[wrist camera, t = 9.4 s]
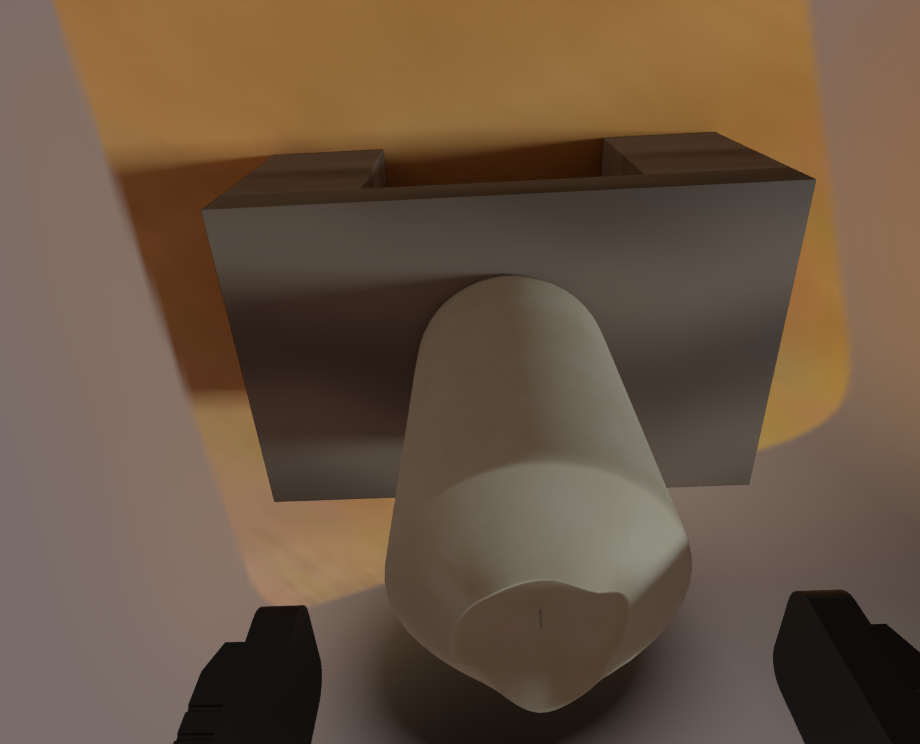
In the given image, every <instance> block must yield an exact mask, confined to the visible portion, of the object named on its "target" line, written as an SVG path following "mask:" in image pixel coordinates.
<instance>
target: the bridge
mask: <svg viewBox="0 0 920 744" xmlns="http://www.w3.org/2000/svg"><path fill="white" fill-rule="evenodd" d="M815 183H816V179H814V178H812V177H810V176H808V175H806V174H804V173H802V172H799V171H797V170H795V169H793V168H791V167H789V166H787V165H784V164H782V163H780V162H778V161H776V160H774V159H772V158H769V157H767V156H765V155H763V154H761V153H759V152H757V151H754V150H752V149H750V148H748V147H746V146H744V145H742V144H740V143H737V142H735V141H733V140H731V139H729V138H727V137H725V136H722V135H720V134H718V133H716V132H708V133H689V134H670V135H650V136H631V137H612V138H603V154H602V171H601V177H584V178H564V179H544V180H525V181H505V182H485V183H465V184H445V185H425V186H405V187H387V182H386V173H385V163H384V154H383V149H381V150H362V151H343V152H323V153H304V154H285V155H274V156H273V157H271V158H270V159H269V160H267V161H266V162H264V163H263V164H262V165H260V166H259V167H258V168H256V169H255V170H254V171H252V172H251V173H250V174H248V175H247V176H246V177H244V178H243V179H242V180H240V181H239V182H238V183H236V184H235V185H234V186H232V187H231V188H230V189H228V190H227V191H226V192H224V193H223V194H222V195H220V196H219V197H218V198H216V199H215V200H214V201H212V202H211V203H210V204H208V205H207V206H206V207H204V208H203V209H202V210H201V212H202V216H203V220H204V224H205V228H206V232H207V236H208V240H209V244H210V248H211V251H212V255H213V259H214V263H215V267H216V271H217V275H218V279H219V283H220V287H221V291H222V295H223V299H224V303H225V307H226V311H227V315H228V319H229V323H230V327H231V331H232V335H233V339H234V343H235V347H236V351H237V355H238V359H239V363H240V367H241V371H242V375H243V379H244V383H245V387H246V391H247V395H248V399H249V403H250V407H251V411H252V415H253V419H254V423H255V427H256V431H257V435H258V439H259V443H260V447H261V451H262V455H263V459H264V463H265V467H266V471H267V475H268V479H269V483H270V487H271V491H272V495H273V499H274V502H286V501H314V500H341V499H368V498H395V497H396V491H397V484H398V478H399V471H400V465H401V458H402V452H403V445H404V439H405V432H406V426H407V419H408V413H409V406H410V400H411V393H412V387H413V380H414V374H415V367H416V362H417V357H418V352H419V347H420V343H421V340H422V337H423V334H424V332H425V330H426V328H427V326H428V324H429V322H430V321H431V319H432V317H433V316H434V315H435V313H436V312H437V311H438V309H439V308H440V307H441V306H442V305H443V304H444V303H445V302H446V301H447V300H448V299H449V298H451V297H452V296H453V295H454V294H456V293H457V292H459V291H461V290H462V289H464V288H466V287H467V286H470V285H472V284H474V283H476V282H479V281H482V280H486V279H489V278H494V277H500V276H513V275H517V276H529V277H534V278H538V279H542V280H545V281H548V282H551V283H553V284H555V285H557V286H559V287H561V288H563V289H565V290H566V291H568V292H569V293H571V294H572V295H573V296H574V297H575V298H577V299H578V300H579V301H580V302H581V303H582V304H583V305H584V306H585V307H586V308H587V310H588V311H589V312H590V313H591V315H592V316H593V318H594V319H595V321H596V323H597V324H598V326H599V328H600V330H601V333H602V335H603V337H604V339H605V342H606V344H607V346H608V349H609V351H610V354H611V356H612V358H613V361H614V363H615V365H616V368H617V370H618V373H619V375H620V377H621V380H622V382H623V385H624V387H625V389H626V392H627V394H628V397H629V399H630V401H631V404H632V406H633V409H634V411H635V413H636V416H637V418H638V421H639V423H640V425H641V428H642V430H643V433H644V435H645V437H646V440H647V442H648V445H649V447H650V449H651V452H652V454H653V457H654V459H655V461H656V464H657V466H658V468H659V471H660V473H661V476H662V478H663V480H664V483H665V485H666V488H668V487H694V486H695V487H696V486H724V485H749V483H750V478H751V474H752V469H753V464H754V460H755V456H756V451H757V446H758V442H759V437H760V433H761V428H762V424H763V419H764V415H765V410H766V406H767V401H768V396H769V392H770V387H771V383H772V378H773V374H774V369H775V365H776V360H777V356H778V351H779V347H780V342H781V337H782V333H783V328H784V324H785V319H786V315H787V310H788V306H789V301H790V297H791V292H792V287H793V283H794V278H795V274H796V269H797V265H798V260H799V256H800V251H801V247H802V242H803V237H804V233H805V228H806V224H807V219H808V215H809V210H810V206H811V201H812V197H813V192H814V188H815Z"/></svg>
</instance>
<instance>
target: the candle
mask: <svg viewBox="0 0 920 744" xmlns="http://www.w3.org/2000/svg"><path fill="white" fill-rule="evenodd" d="M691 572H692V556H691V551H690V546H689V542H688V539H687V536H686V534H685V531H684V529H683V527H682V524H681V521H680V519H679V517H678V514H677V512H676V509H675V507H674V504H673V502H672V500H671V497H670V495H669V492H668V490H667V488H666V485H665V483H664V480H663V478H662V476H661V473H660V471H659V468H658V466H657V464H656V461H655V459H654V457H653V454H652V452H651V449H650V447H649V445H648V442H647V440H646V437H645V435H644V433H643V430H642V428H641V425H640V423H639V421H638V418H637V416H636V413H635V411H634V409H633V406H632V404H631V401H630V399H629V397H628V394H627V392H626V389H625V387H624V385H623V382H622V380H621V377H620V375H619V373H618V370H617V368H616V365H615V363H614V361H613V358H612V356H611V354H610V351H609V349H608V346H607V344H606V342H605V339H604V337H603V335H602V333H601V330H600V328H599V326H598V324H597V323H596V321H595V319H594V318H593V316H592V315H591V313H590V312H589V311H588V310H587V308H586V307H585V306H584V305H583V304H582V303H581V302H580V301H579V300H578V299H577V298H575V297H574V296H573V295H572V294H571V293H569V292H568V291H566V290H565V289H563V288H561V287H559V286H557V285H555V284H553V283H551V282H548V281H545V280H542V279H538V278H534V277H529V276H517V275H513V276H500V277H494V278H489V279H486V280H482V281H479V282H476V283H474V284H472V285H470V286H467V287H466V288H464V289H462V290H461V291H459V292H457V293H456V294H454V295H453V296H452V297H451V298H449V299H448V300H447V301H446V302H445V303H444V304H443V305H442V306H441V307H440V308H439V309H438V311H437V312H436V313H435V315H434V316H433V317H432V319H431V321H430V322H429V324H428V326H427V328H426V330H425V332H424V334H423V337H422V340H421V343H420V347H419V352H418V357H417V362H416V367H415V374H414V380H413V387H412V393H411V400H410V406H409V413H408V419H407V426H406V432H405V439H404V445H403V452H402V458H401V465H400V471H399V478H398V484H397V491H396V497H395V504H394V510H393V517H392V523H391V530H390V536H389V543H388V549H387V556H386V563H385V584H386V589H387V594H388V597H389V601H390V603H391V606H392V608H393V610H394V612H395V614H396V615H397V617H398V619H399V621H400V622H401V623H402V624H403V626H404V627H405V628H406V630H407V631H408V632H409V633H410V634H411V635H412V636H413V637H414V638H415V639H416V640H417V641H418V642H419V643H420V644H422V645H423V646H424V647H425V648H427V649H428V650H429V651H430V652H432V653H433V654H434V655H435V656H437V657H438V658H440V659H441V660H443V661H444V662H446V663H447V664H449V665H451V666H452V667H454V668H456V669H457V670H459V671H461V672H463V673H465V674H467V675H469V676H471V677H473V678H475V679H477V680H479V681H481V682H482V683H484V684H486V685H488V686H490V687H492V688H493V689H495V690H497V691H498V692H499V693H501V694H502V695H504V696H505V697H506V698H507V699H509V700H510V701H512V702H513V703H515V704H516V705H518V706H520V707H522V708H524V709H526V710H529V711H533V712H538V713H540V712H550V711H553V710H556V709H559V708H561V707H563V706H565V705H567V704H569V703H571V702H572V701H574V700H575V699H577V698H578V697H580V696H581V695H583V694H584V693H586V692H587V691H588V690H590V689H591V688H592V687H593V686H594V685H595V684H597V683H598V682H599V681H600V680H601V679H602V678H604V677H606V676H607V675H609V674H611V673H612V672H614V671H615V670H617V669H618V668H620V667H621V666H623V665H624V664H626V663H627V662H629V661H630V660H632V659H633V658H634V657H635V656H636V655H638V654H639V653H640V652H641V651H642V650H644V649H645V648H646V647H647V646H648V645H649V644H650V643H651V642H652V641H653V640H654V639H655V638H656V637H657V636H658V635H659V634H660V633H661V632H662V631H663V630H664V628H665V627H666V626H667V625H668V623H669V622H670V621H671V619H672V618H673V617H674V615H675V614H676V613H677V611H678V609H679V607H680V606H681V604H682V602H683V600H684V598H685V596H686V593H687V590H688V587H689V584H690V578H691Z"/></svg>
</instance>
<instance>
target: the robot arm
mask: <svg viewBox="0 0 920 744" xmlns="http://www.w3.org/2000/svg"><path fill="white" fill-rule="evenodd" d="M773 665H774V671H775V676H776V680H777V683H778V686H779V688H780V691H781V693H782V695H783V697H784V700H785V702H786V704H787V706H788V708H789V710H790V712H791V715H792V717H793V719H794V721H795V723H796V726H797V728H798V730H799V732H800V734H801V736H802V738H803V741H804V743H805V744H920V652H919V651H918V650H916V649H915V648H914V647H913V646H912V645H910V644H909V643H908V642H907V641H906V640H905V639H903V638H902V637H901V636H900V635H899V634H897V633H896V632H895V631H894V630H893V629H892V628H890V627H889V626H888V625H887V624H870V622H869V621H868V619H867V618H866V616H865V614H864V613H863V611H862V610H861V608H860V607H859V606H858V604H857V602H856V601H855V600H854V598H853V597H852V596H851V595H850V594H849V593H848V592H846V591H844V590H817V591H816V590H814V591H795V592H793V593H792V594H791V595H790V597H789V600H788V603H787V607H786V610H785V613H784V616H783V620H782V623H781V626H780V630H779V633H778V636H777V639H776V643H775V646H774V650H773ZM321 686H322V668H321V660H320V657H319V652H318V648H317V645H316V641H315V636H314V632H313V629H312V625H311V621H310V617H309V613H308V610H307V608H306V606H304V605H299V606H269V607H260V608H259V609H258V610H257V611H256V613H255V615H254V618H253V621H252V624H251V626H250V629H249V632H248V635H247V638H246V641H245V642H225V643H224V645H223V646H222V647H221V648H220V649H219V651H218V652H217V653H216V654H215V656H214V657H213V658H212V659H211V661H210V662H209V663H208V664H207V665H206V667H205V668H204V669H203V670H202V672H201V674H200V676H199V679H198V682H197V684H196V687H195V689H194V692H193V695H192V697H191V700H190V702H189V705H188V712H186V713H185V715H184V717H183V720H182V723H181V725H180V728H179V730H178V733H177V735H178V736H177V740H176V741H174V743H173V744H311V741H312V736H313V731H314V727H315V722H316V717H317V712H318V707H319V702H320V695H321Z"/></svg>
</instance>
